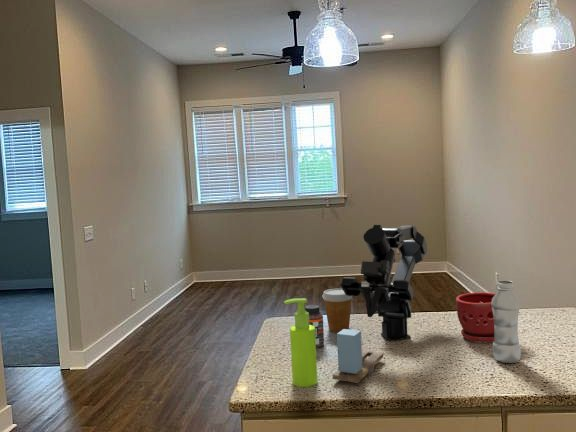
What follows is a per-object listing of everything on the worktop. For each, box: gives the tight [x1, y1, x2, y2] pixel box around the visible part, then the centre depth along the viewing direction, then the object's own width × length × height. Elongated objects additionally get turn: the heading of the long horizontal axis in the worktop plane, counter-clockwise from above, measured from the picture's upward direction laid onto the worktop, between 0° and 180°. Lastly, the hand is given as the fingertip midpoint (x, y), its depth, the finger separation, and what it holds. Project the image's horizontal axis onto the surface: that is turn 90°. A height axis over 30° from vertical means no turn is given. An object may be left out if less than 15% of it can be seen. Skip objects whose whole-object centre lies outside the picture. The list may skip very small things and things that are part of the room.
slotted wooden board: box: [332, 349, 384, 384], centre depth 128 cm, size 18×6×2 cm, turn 151°
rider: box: [336, 328, 363, 375], centre depth 122 cm, size 4×4×10 cm
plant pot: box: [455, 292, 496, 344], centre depth 147 cm, size 13×13×12 cm
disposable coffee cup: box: [321, 288, 354, 333], centre depth 163 cm, size 10×10×12 cm
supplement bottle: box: [305, 304, 325, 349], centre depth 149 cm, size 6×6×11 cm
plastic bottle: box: [491, 280, 522, 364], centre depth 129 cm, size 6×7×20 cm
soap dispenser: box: [283, 297, 318, 388], centre depth 122 cm, size 6×7×20 cm
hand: (369, 316), depth 134 cm, fingers closed
